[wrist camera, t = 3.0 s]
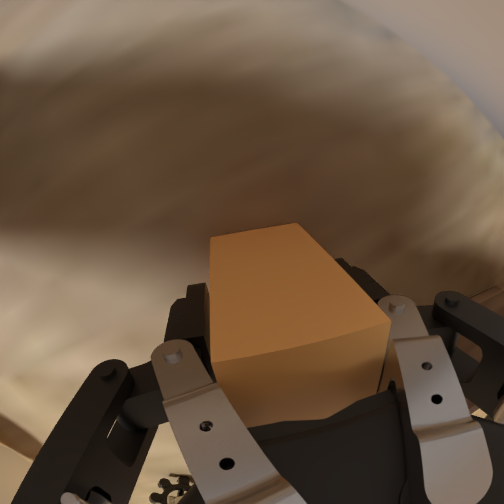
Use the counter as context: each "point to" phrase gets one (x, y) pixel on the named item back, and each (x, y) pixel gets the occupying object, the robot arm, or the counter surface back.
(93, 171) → the counter surface
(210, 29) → the counter surface
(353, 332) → the orange rectangular block
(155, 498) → the valve
